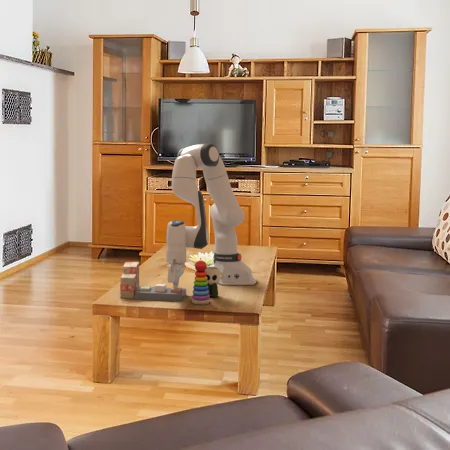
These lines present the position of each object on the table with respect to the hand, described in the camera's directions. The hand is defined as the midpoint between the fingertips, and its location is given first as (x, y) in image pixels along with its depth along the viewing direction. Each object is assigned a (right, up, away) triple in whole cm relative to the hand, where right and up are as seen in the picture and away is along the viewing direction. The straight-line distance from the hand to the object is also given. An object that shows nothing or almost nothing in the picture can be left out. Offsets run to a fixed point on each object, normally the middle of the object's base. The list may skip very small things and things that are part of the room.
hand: (175, 288), depth 299 cm
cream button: (-7, -2, +1) cm, 7 cm away
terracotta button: (0, -3, 0) cm, 3 cm away
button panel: (-7, -4, +1) cm, 8 cm away
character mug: (+16, -4, +4) cm, 17 cm away
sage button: (-14, -3, +2) cm, 14 cm away
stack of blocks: (-22, -3, +9) cm, 24 cm away
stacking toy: (+11, -6, -8) cm, 15 cm away
